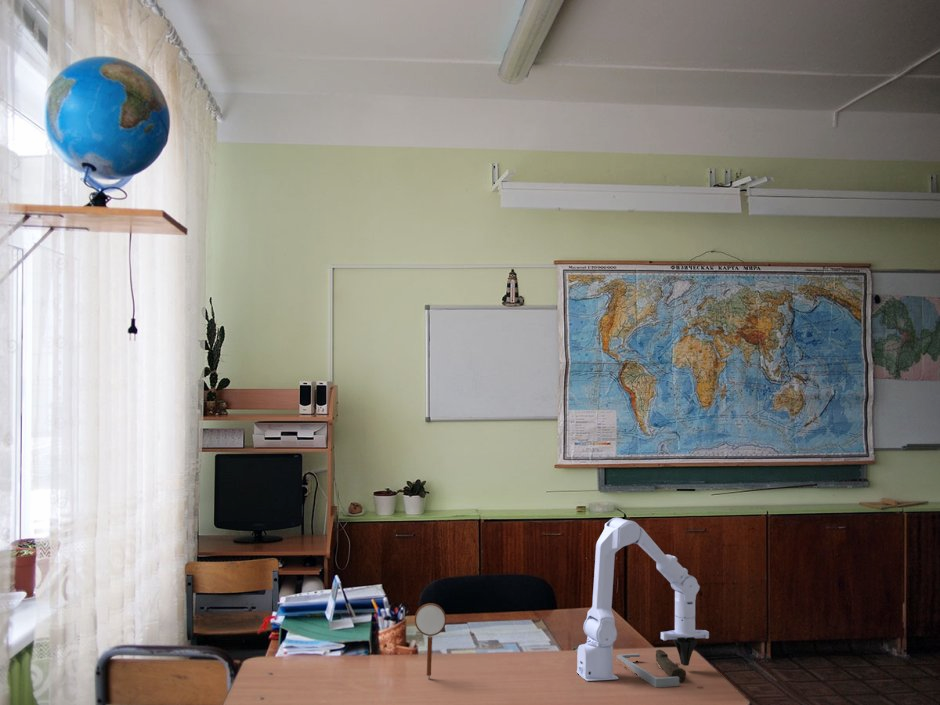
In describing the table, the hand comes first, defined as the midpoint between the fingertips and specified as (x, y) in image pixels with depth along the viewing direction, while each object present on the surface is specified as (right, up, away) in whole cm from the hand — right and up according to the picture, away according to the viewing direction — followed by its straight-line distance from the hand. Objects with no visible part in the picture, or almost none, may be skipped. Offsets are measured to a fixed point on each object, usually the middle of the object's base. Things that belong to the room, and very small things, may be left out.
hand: (684, 664), depth 237 cm
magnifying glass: (-73, +1, -13) cm, 74 cm away
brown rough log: (-6, -2, -2) cm, 6 cm away
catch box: (-11, -1, -3) cm, 12 cm away
